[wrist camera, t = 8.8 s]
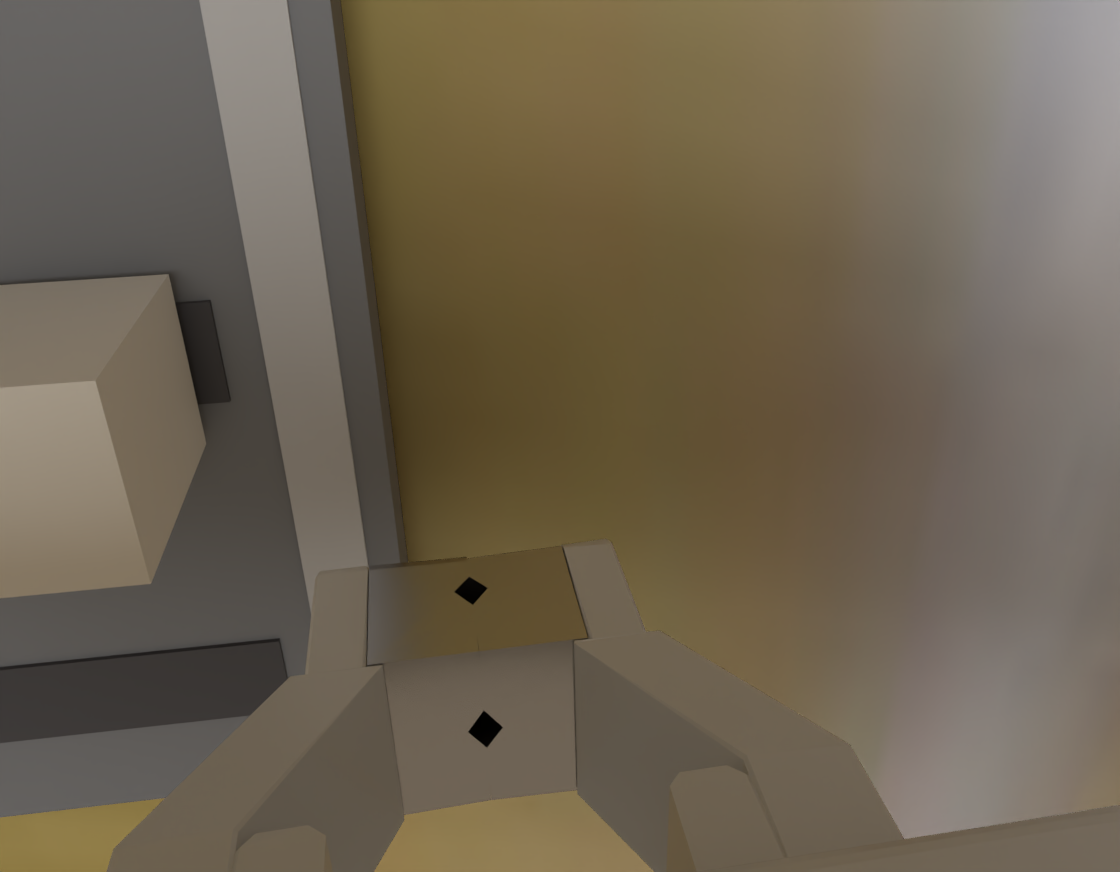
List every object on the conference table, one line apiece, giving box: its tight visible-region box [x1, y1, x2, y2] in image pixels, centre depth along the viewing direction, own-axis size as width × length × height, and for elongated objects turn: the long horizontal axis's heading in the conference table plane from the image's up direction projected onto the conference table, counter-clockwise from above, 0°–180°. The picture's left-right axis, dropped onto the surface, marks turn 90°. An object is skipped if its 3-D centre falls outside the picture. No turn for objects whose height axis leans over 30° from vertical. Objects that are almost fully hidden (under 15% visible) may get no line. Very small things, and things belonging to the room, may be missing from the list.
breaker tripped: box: [0, 274, 206, 598], centre depth 14 cm, size 3×3×4 cm
